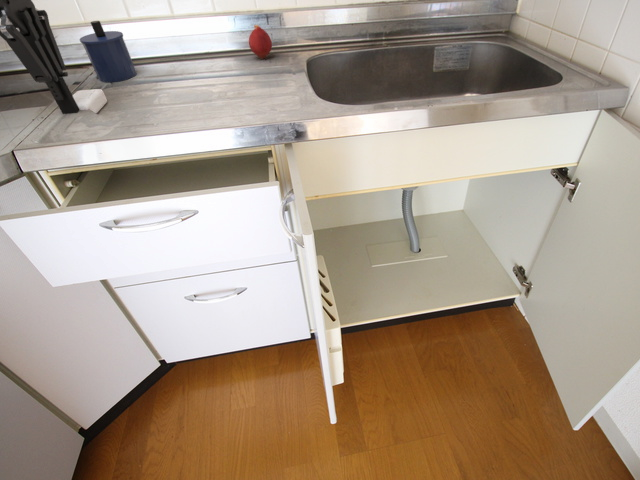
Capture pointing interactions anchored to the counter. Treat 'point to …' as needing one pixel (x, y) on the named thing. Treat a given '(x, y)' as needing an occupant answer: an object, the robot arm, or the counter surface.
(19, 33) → the robot arm
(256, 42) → the onion
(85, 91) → the soap
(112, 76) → the pot
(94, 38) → the pot lid
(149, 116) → the counter surface
